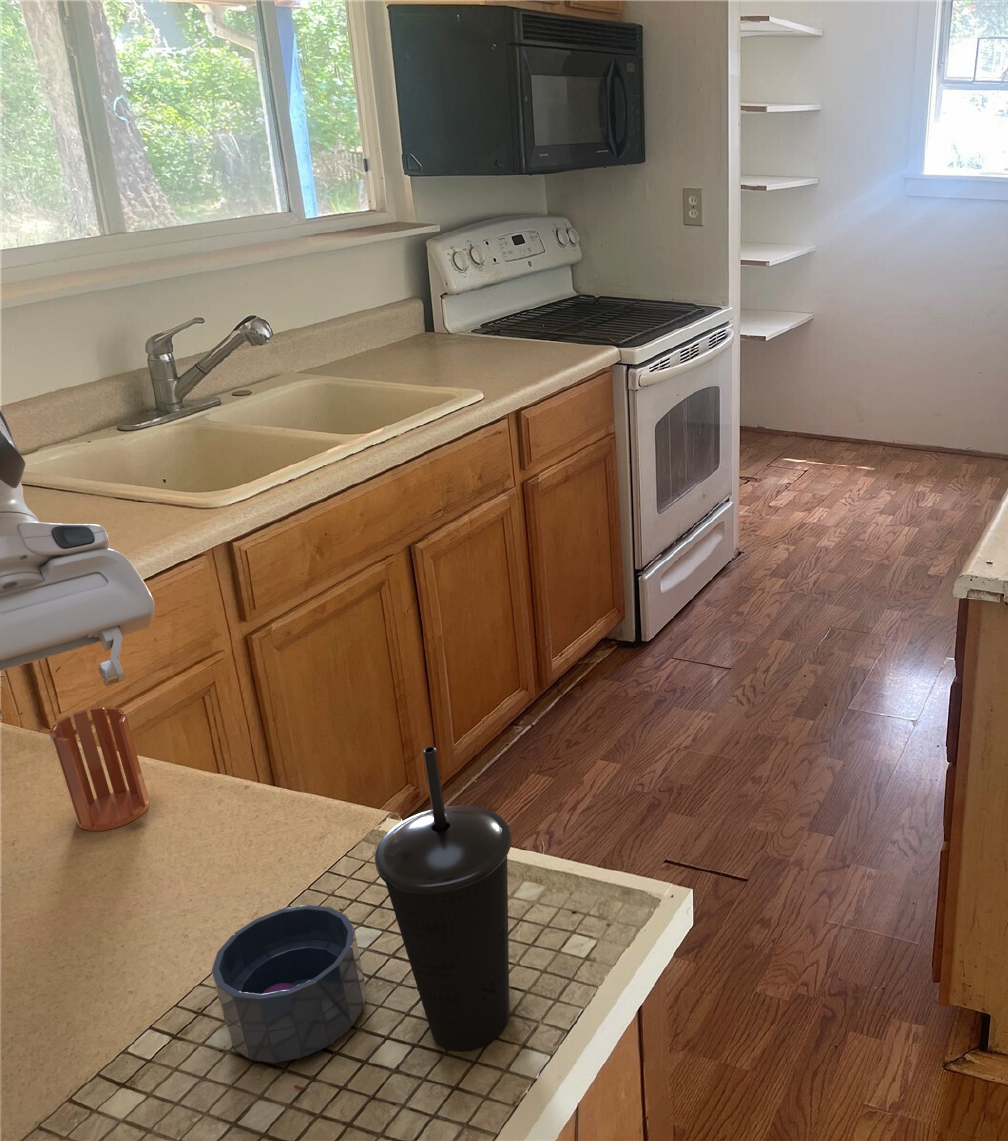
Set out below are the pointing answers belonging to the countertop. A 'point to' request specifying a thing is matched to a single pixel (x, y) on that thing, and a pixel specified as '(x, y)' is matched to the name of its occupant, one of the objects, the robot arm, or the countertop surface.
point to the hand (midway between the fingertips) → (56, 700)
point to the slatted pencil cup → (100, 769)
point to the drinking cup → (453, 913)
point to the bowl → (296, 956)
